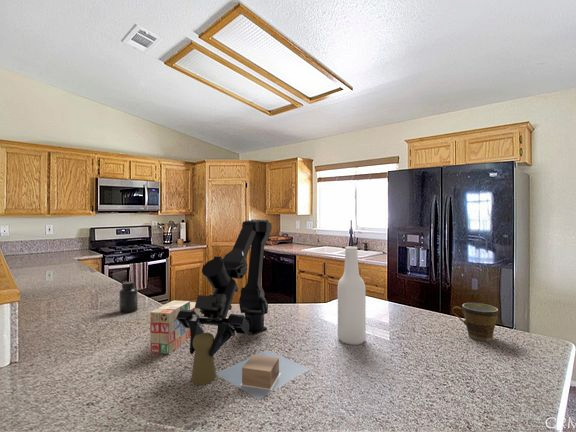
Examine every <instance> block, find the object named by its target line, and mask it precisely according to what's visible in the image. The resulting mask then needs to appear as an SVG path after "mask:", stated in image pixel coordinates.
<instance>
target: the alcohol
mask: <svg viewBox="0 0 576 432" xmlns="http://www.w3.org/2000/svg"><path fill="white" fill-rule="evenodd" d="M344 249H345V250H344V269H343V275H341V277H340V278H339V280H338V282H337V338H338V340H339V342H341V343H342V344H345V345H351V346H359V345H362V344H364V342H365V340H366V338H367V337H366V336H367V335H366V334H367V333H366V332H367V331H366V330H367V329H366V325H367V324H366V321H367V320H366V319H367V318H366V312H367V311H366V306H367V305H366V304H367V302H366V296H367V295H366V284H365V283H366V282H365V280H364V279H363V278H362V277H361V275H360V271H359V259H358V258H359V257H358V252H359V251H358V249H359V248H358V247H357V246H354V245H353V246H349V245H348V246H345V247H344Z"/></svg>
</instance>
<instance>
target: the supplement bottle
mask: <svg viewBox="0 0 576 432" xmlns="http://www.w3.org/2000/svg"><path fill="white" fill-rule="evenodd" d="M135 283H136V282H135V281H125V282H124V281H123V282H122V283H121V289H120V291H119V293H118V296H119V300H118V301H119V305H118V306H119V313H121V314H130V313H134V312H136V311H138V305H139V303H138V301H139V299H138V293H139V292H138V291H139V290H138V289H137V288H136V284H135Z"/></svg>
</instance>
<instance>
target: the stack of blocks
mask: <svg viewBox="0 0 576 432" xmlns="http://www.w3.org/2000/svg"><path fill="white" fill-rule="evenodd" d="M195 304H196V301H190V300H175V299H174V300H172V301H170V302H167V303H165V304H163V305H162V306H160V307H158V308H155V309H153V310H152V311H150V312H149V313H150V326H149V328H150V353H152V354H153V353H154V354H156V353H157V354H166V355H170V354H171V353H173V352H174V351H175V350H177V349H178V348H179V347H180V345H181V344H182V343H183V342H184V343H186V342H185V341H186V340H187V339H188V338H189V337H190V336H191V333H190V328H185V327H183V325H182V324H181V323H180V322H179V321H178V320H177V319H176V317H177V315H178V313H179V311H181V310H194V312H195V313H196V314H197V315H198V316H204V314H202V313H201V312H200V310H201V309H199V308H197V309H196V308H195ZM202 327H204V324H202V326H201V328H202ZM202 329H203V328H202ZM189 339H190V338H189ZM189 339H188V340H189ZM188 340H187V341H188ZM184 343H183V344H184ZM183 344H182V345H183ZM182 345H181V346H182ZM178 346H179V347H178ZM177 347H178V348H177ZM176 348H177V349H176ZM174 349H175V350H174ZM173 350H174V351H173ZM172 351H173V352H172Z"/></svg>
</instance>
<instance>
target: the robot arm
mask: <svg viewBox="0 0 576 432" xmlns="http://www.w3.org/2000/svg"><path fill="white" fill-rule="evenodd" d="M272 229H273V226H272V223H271V222H270V221H269V220H268V219H265V218H264V219H256V218H255V219H254V218H253V219H251V220H244V221H242V223H241V230H240V231H239V234H238V236H237V238H236V241H235V243H234V245H233V247H232V249H231V250H230V251H229V252H228V253H226V254H225V255H224V256H223V257H222V256H215V255H214V257H213V259H211V260H208V261H207V262H206V263H205V264H203V265H202V269H201V273H202V275H203V277H204V278H205V279H206V280H207V282H208V284H209V285H210V287H212V288H213V291H212V293H211V294H208V295H202V294H200V295H199V294H198V295H196V299H195V302H196V304H195V308H196V309H197V308H199V309H201V310H200V312H201V313H202V314H203V316H198V315H197V314H196V313H195V312H194V310H181V311H179V313H178V315H177V317H176V319H177V320H178V321H179V322H180V323H181V324H182V325H183V327H185V328H190V333H191V337H190V338H189V340H190V341H189V354H190V355H193V354H195V349H194V348H193V339H194V337H195V336H196V335H198V334H201V333H205V330H204V329H203V328H201V326H202V324H203V325H206V326H207V325H208V326H217V331H216V334H215V336H214V342H213V344H212V347H211V350H210V354H209V356H210V357H212V356H213V357H214V355H215V354H216V353H217V352H218V351H219V349H221V348H222V347H223V345H225V343H227V342H228V341H229V340H230V339H231V338H232V337H236V334H238V335H244V336H245V335H248V333H249V334H252V335H255V334H258V333H261V332H263V331H266V330H267V329H268V327H266V326H265V315H266V314H268V312H269V311H268V310H269V304H268V302H267V300H266V298H265V291H264V289H263V286H262V275H263V274H262V272H263V264H264V262H263V261H264V251H265V244H266V243H267V241H268V240H269V239H270V236H271V232H272ZM249 251H250V253H249ZM248 253H249V262H248V263H249V264H248V263H247V260H246V259H247V257H248ZM247 271H248V272H247ZM246 273H247V281H246V284H245V285H244V286H243V287H242V288H241V289H240V296H239V298H238V299H239V300H238V303H239V304H238V305H239V310H240V314H235V313H231V314H229V315H228V313H229V311H232V309H233V306H232V302H233V300H234V299H233V298H234V295H235V292H236V293H238V292H239V286H238V284H237V282H236V280H235V279H237V280H240V279H243V278H244V277H245V275H246ZM227 316H228V317H227Z"/></svg>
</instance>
